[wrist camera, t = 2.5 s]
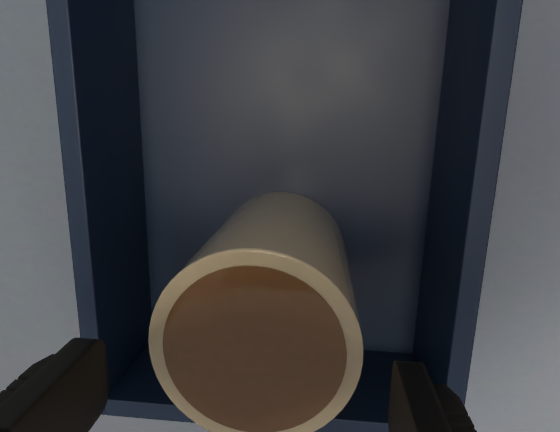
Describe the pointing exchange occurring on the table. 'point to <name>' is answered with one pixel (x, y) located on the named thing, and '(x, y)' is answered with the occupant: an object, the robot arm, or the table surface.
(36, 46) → the table surface
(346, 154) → the navy tray
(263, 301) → the cup
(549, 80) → the table surface
